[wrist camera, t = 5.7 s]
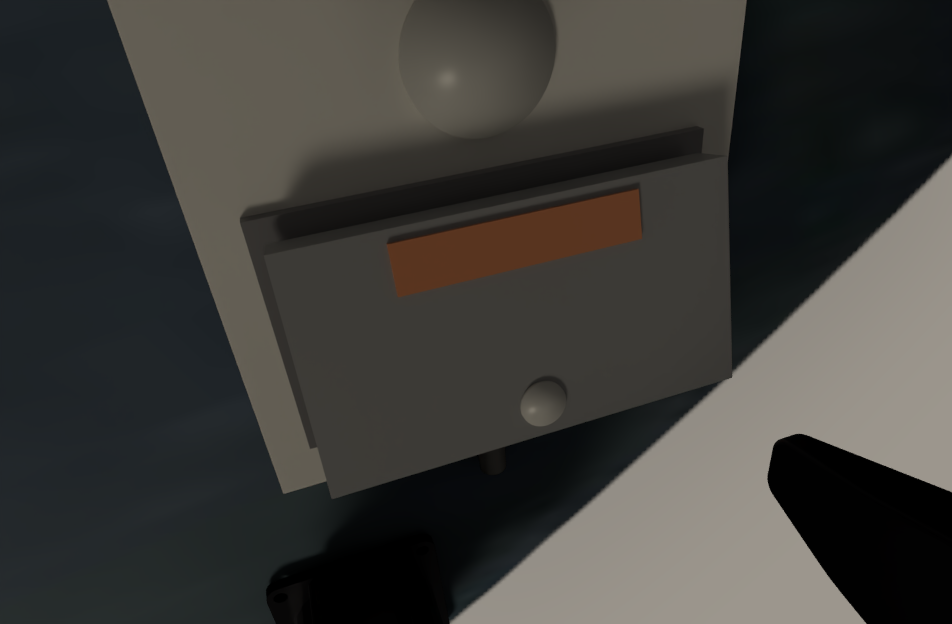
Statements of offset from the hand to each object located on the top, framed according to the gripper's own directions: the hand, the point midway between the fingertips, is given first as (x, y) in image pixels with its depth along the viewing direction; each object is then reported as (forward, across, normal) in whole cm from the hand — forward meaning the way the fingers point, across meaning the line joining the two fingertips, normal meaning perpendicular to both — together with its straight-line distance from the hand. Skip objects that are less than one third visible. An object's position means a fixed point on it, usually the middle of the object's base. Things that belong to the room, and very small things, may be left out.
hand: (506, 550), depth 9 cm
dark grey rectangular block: (+8, -3, +1) cm, 8 cm away
